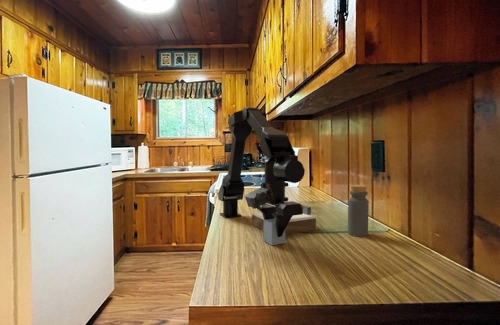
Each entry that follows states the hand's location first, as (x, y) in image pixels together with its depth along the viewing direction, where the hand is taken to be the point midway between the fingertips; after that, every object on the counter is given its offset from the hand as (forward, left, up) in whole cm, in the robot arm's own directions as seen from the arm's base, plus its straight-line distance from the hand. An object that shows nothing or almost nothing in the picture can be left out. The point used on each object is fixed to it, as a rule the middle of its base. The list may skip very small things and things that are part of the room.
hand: (274, 234), depth 84 cm
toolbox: (-12, +11, -2) cm, 16 cm away
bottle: (+5, +27, -2) cm, 28 cm away
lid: (-12, +11, +1) cm, 16 cm away
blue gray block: (0, 0, -2) cm, 2 cm away
